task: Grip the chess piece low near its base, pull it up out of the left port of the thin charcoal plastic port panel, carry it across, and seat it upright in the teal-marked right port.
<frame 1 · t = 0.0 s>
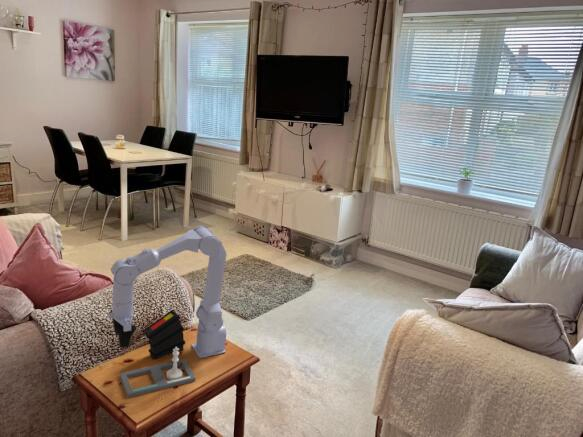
hand: (121, 339, 131), 10 cm above the table, tool pointing down, fingers open, 7 cm apart
chess piece: (174, 375, 135), resting in port panel
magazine: (163, 354, 144), on the table
port panel: (158, 378, 132), on the table
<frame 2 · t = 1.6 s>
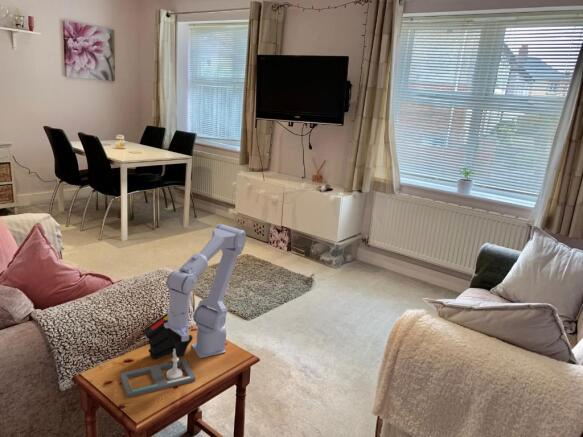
hand: (176, 349, 132), 9 cm above the table, tool pointing down, fingers open, 7 cm apart
nothing on the table moved.
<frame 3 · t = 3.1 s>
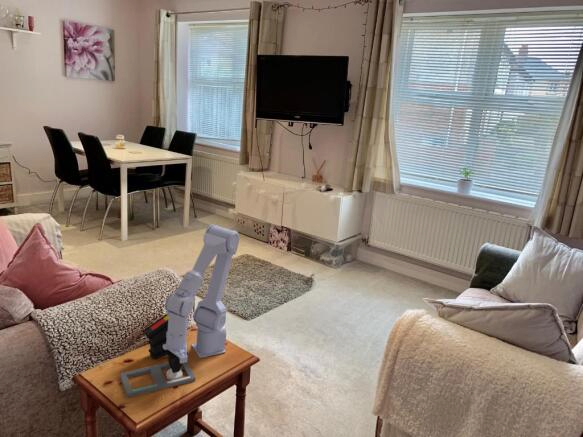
hand: (174, 369, 134), 2 cm above the table, tool pointing down, fingers closed on chess piece
chess piece: (174, 375, 135), resting in port panel, touching gripper
everything else where it was.
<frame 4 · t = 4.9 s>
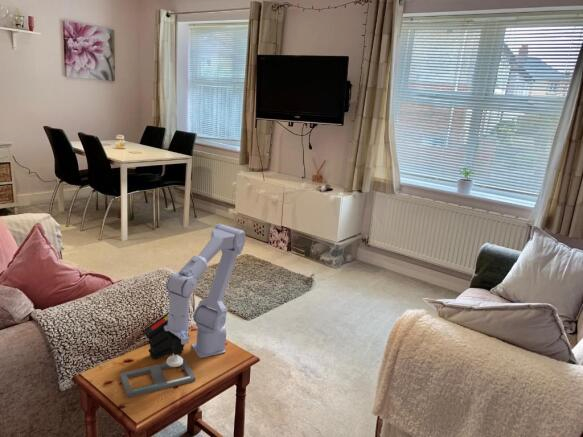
hand: (176, 351, 132), 8 cm above the table, tool pointing down, fingers closed on chess piece
chess piece: (174, 362, 133), point 5 cm above the table, touching gripper
everything else where it was.
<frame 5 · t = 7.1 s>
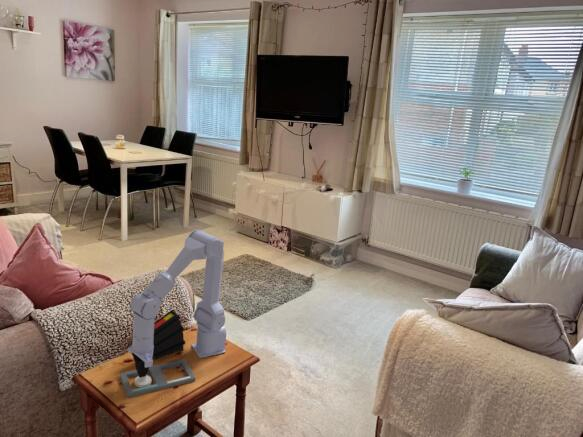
hand: (141, 373, 128), 3 cm above the table, tool pointing down, fingers closed on chess piece
chess piece: (143, 382, 130), resting in port panel, touching gripper
everything else where it was.
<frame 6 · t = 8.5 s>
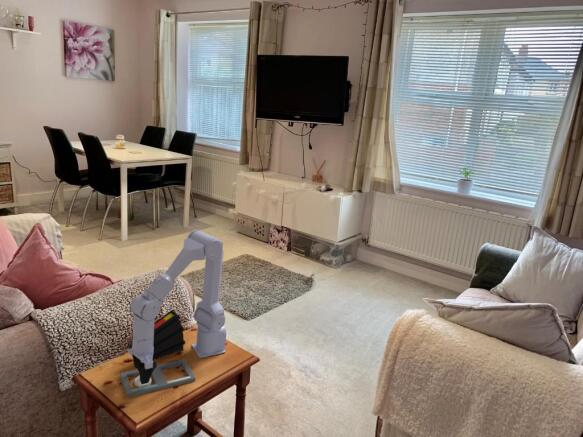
hand: (141, 374, 128), 3 cm above the table, tool pointing down, fingers open, 7 cm apart
chess piece: (143, 382, 130), resting in port panel
everything else where it was.
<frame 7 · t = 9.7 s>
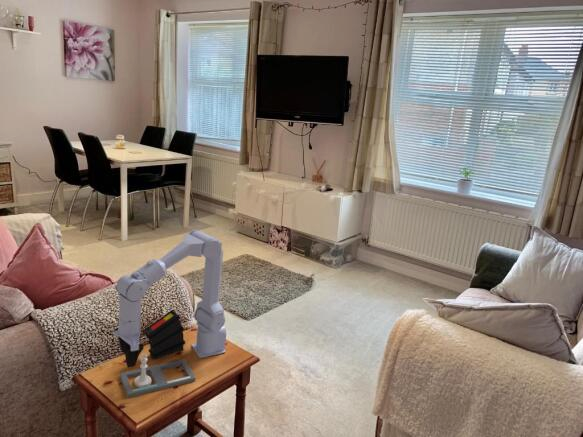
hand: (128, 358, 124), 9 cm above the table, tool pointing down, fingers open, 7 cm apart
nothing on the table moved.
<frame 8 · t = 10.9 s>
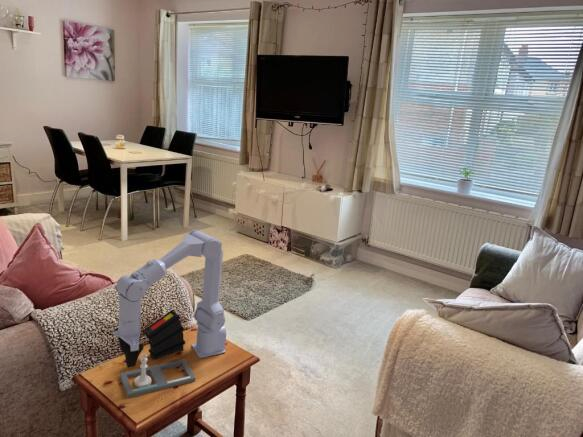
hand: (128, 358, 124), 9 cm above the table, tool pointing down, fingers open, 7 cm apart
nothing on the table moved.
at the end: chess piece 0.6 cm from the target spot on the port panel, point 0.0 cm above the port panel's base; chess piece tilted 0°; the gripper is holding nothing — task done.
